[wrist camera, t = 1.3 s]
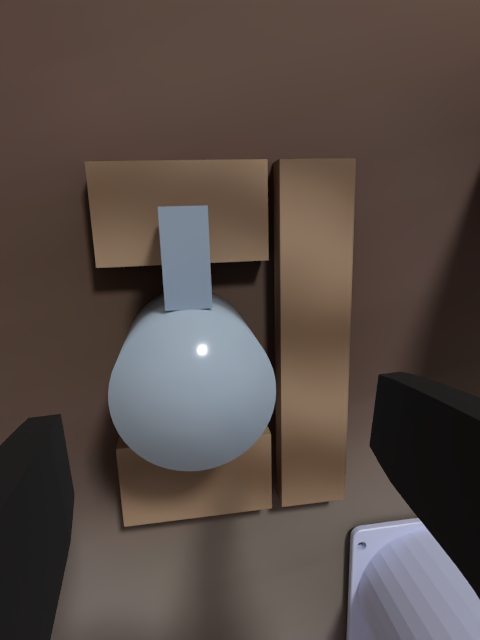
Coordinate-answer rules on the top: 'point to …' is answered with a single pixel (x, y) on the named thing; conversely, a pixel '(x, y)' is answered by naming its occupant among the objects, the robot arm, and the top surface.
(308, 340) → the brown wooden panels
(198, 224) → the grey round flask
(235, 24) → the top surface
